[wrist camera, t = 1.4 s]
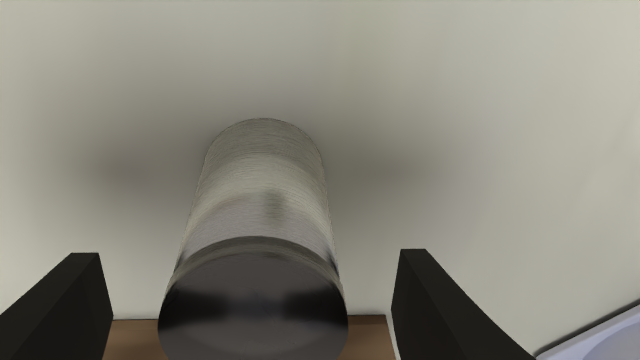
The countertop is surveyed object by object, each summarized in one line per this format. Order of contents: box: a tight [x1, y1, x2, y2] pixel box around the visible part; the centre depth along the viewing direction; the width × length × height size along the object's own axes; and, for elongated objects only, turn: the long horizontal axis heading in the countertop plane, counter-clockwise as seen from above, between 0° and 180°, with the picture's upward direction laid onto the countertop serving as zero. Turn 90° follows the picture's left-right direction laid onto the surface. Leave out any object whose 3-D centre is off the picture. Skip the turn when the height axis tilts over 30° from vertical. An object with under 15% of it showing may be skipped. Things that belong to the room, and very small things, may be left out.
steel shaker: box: [157, 118, 349, 360], centre depth 14 cm, size 4×4×7 cm
